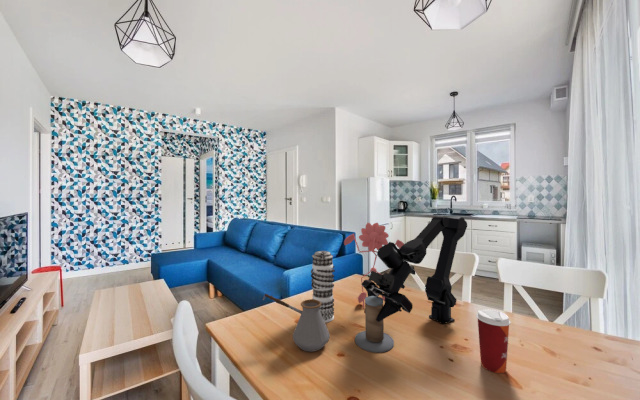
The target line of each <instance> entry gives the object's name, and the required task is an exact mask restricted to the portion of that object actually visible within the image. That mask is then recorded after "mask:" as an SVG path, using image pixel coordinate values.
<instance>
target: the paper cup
mask: <svg viewBox="0 0 640 400" xmlns="http://www.w3.org/2000/svg"><path fill="white" fill-rule="evenodd" d="M475 317H476V318H477V329H478V342H479V345H478V346H479V354H480V355H479V357H480V365H481V366H482V367H483V368H484V369H485V370H487V371H488V372H492V373H495V374H504V373H506V370H507V364H508V361H507V360H508V348H509V347H508V346H509V335H510V334H509V330H510V325H511V320H510V318H509V316H508V315H507V314H506V313H504V312H502V311H500V310H499V311H498V310H495V309H488V308H484V309H479V310H478V311H477V314H476V315H475Z"/></svg>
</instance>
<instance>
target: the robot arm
mask: <svg viewBox="0 0 640 400" xmlns="http://www.w3.org/2000/svg"><path fill="white" fill-rule="evenodd" d="M467 227H468V223H467V221H466V219H465V218H464V217H462V216H461V217H459V216H443V215H434V216H433V217H431V220H430V222H428V224H427V225H426V226H425V227H424V228H423V229H422V230H421V232H420V233H419V234H418V235H417V236H416V237H415V238H414V239H412V240H408V241H406V242H405V243H404V245H403V246H401V248H398V247H397V245H395V242H391V241H388V244H387V245H382V247H381V248H379V250H377V253H376V255H377V258H379V259H380V260H381V262H383V264H384V265H385V266H386V268H388V269H390V270H389V271H388V272H386V271H385V272H384V273H383V274H382V273H380V272H379V273H380V274H379V273H377V272H374V271H371V272H370V273H369V277H368V279H364V280H362V283H361V287H362V286H363V289H365V290H366V291H365V292H366V294H367V297H368V296H377V297H380V296H381V297H382V296H383V297H385V301H384V303H383V307H382V309H381V311H380V313H379V314H378V316H377V318H376V321H377V322H379V321H381V320H383V321H384V320H385V319H386V318H388V317H390V316H392V315H394V314H396V313H398V312H402V310H403V311H404V312H406V313H408V314H410V313H411V312H412V310H413V303H412V302H411V300H409V298H408V297H407V296H406V295H405V294H403V293H400V290H401V289H402V290H403V289H405V288H406V286H405V283H406V280H407V278H408V277H409V275H410V274H411V275H414V276H415V275H416V270H415V266H414V265H420V264H421V263H422V262H423V260H424V259H425V256H427V248H428V247H429V246H430V245H431V244H432V243H433V241H434V240H435V239H436V238H437V237H438V235H440V233H441V234H442V236H443V238H442V243H441V247H440V250H439V255H438V259H437V262H436V263H437V264H436V267H435V271H434V273H433V274H432V275H431V276H429V275H428V276H427V278H426V282H425V285H424V287H425V288H424V289H425V290H424V292H425V294H426V298H427V300H428V301H431V309H430V310H431V311H430V312H431V314H430V315H428V318H430V319H432V320H434V321H435V322H437V323H440V324H441V325H444V324H448V323H452V322H455V321H456V320H455V318H453V317H452V308H454V307H455V306H456V305H457V300H458V299H457V298H456V296H454V294H453V293H452V290H453V289H452V283H451V281H450V275H451V270H452V266H453V263H454V259H455V254H456V249H457V245H458V242H459V241H460V239H462V238H463V237H464V236H465V234H466V230H467ZM410 264H414V265H410ZM363 313H364V314H365V310H364V311H363Z"/></svg>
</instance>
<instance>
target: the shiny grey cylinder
mask: <svg viewBox="0 0 640 400" xmlns="http://www.w3.org/2000/svg"><path fill="white" fill-rule="evenodd" d="M383 306H384V300H383V299H382V296H381V297H380V296H378V297H377V296H368V295H367V296H366V298H365V299H364V311H365V313H364V317H365V319H364V320H365V326H364V327H365V330H364V331H365V333H366V339H367V340H369V341H372V342H380V341H382V340H383V339H384V333H385V331H384V329H385V328H384V319H383V320H381V321H379V322H377V321H376V318H377V316H378V314H379V313H380V311H381V309H382V307H383Z"/></svg>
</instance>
